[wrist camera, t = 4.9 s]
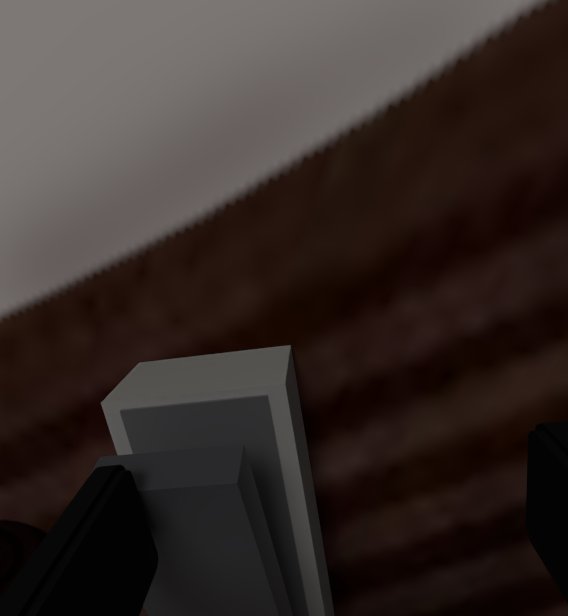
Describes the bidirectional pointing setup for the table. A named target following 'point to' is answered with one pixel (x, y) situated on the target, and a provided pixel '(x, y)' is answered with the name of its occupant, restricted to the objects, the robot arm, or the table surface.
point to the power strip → (234, 431)
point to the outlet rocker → (206, 534)
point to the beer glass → (16, 550)
